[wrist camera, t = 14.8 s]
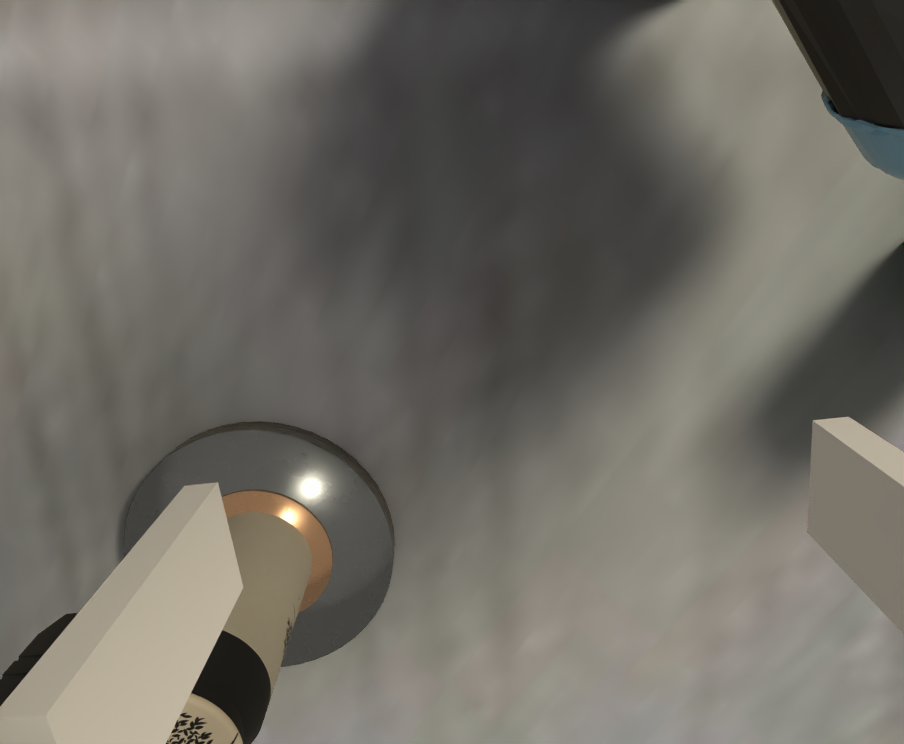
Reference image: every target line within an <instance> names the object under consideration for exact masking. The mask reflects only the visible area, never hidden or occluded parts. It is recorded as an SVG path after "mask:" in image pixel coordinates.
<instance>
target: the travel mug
mask: <svg viewBox="0 0 904 744" xmlns="http://www.w3.org/2000/svg"><path fill="white" fill-rule="evenodd" d="M227 522H228V526H229V530H230V534H231V538H232V542H233V546H234V551H235V555H236V559H237V563H238V567H239V571H240V575H241V579H242V584H243V589H242V591H241V593H240V595H239V597H238V599H237V601H236V603H235V605H234V607H233V609H232V611H231V613H230V615H229V617H228V619H227V621H226V623H225V625H224V627H223V629H222V631H221V633H220V635H219V637H218V639H217V641H216V643H215V645H214V648H213V650H212V652H211V654H210V656H209V658H208V660H207V662H206V664H205V666H204V668H203V670H202V672H201V674H200V676H199V678H198V680H197V682H196V684H195V686H194V688H193V690H192V692H191V694H190V696H189V698H188V700H187V702H186V704H185V706H184V708H183V710H182V712H181V714H180V716H179V718H178V720H177V722H176V724H175V726H174V728H173V730H172V732H171V734H170V736H169V738H168V740H167V742H166V744H251V743H252V742H253V741H254V739H255V738H256V736H257V735H258V733H259V731H260V729H261V726H262V723H263V720H264V717H265V714H266V711H267V708H268V705H269V701H270V698H271V695H272V692H273V689H274V686H275V683H276V680H277V677H278V673H279V670H280V667H281V664H282V661H283V658H284V655H285V652H286V649H287V645H288V642H289V639H290V636H291V633H292V630H293V627H294V624H295V620H296V617H297V614H298V611H299V608H300V605H301V602H302V599H303V596H304V592H305V589H306V586H307V583H308V580H309V577H310V574H311V569H312V556H311V551H310V548H309V545H308V543H307V541H306V540H305V538H304V537H303V535H302V534H301V533H300V532H299V530H298V529H297V528H295V527H294V526H293V525H292V524H290V523H289V522H287V521H286V520H284V519H282V518H280V517H278V516H275V515H272V514H268V513H263V512H246V513H241V514H237V515H234V516H231V517H229V518H227Z"/></svg>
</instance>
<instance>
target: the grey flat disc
mask: <svg viewBox="0 0 904 744" xmlns="http://www.w3.org/2000/svg"><path fill="white" fill-rule="evenodd" d="M216 482H218V485H219V489H220V493H221V497H222V501H223V505H224V509H225V513H226V518H229V517H231V516H234V515H237V514H241V513H246V512H263V513H268V514H272V515H275V516H278V517H280V518H282V519H284V520H286V521H287V522H289V523H290V524H292V525H293V526H294V527H295V528H297V529H298V530H299V532H300V533H301V534H302V535H303V537H304V538H305V540H306V541H307V543H308V545H309V548H310V551H311V556H312V569H311V574H310V577H309V580H308V583H307V586H306V589H305V592H304V596H303V599H302V602H301V605H300V608H299V611H298V614H297V617H296V620H295V624H294V627H293V630H292V633H291V636H290V639H289V642H288V645H287V649H286V652H285V655H284V658H283V661H282V664H281V667H284V666H290V665H297V664H301V663H305V662H308V661H312V660H315V659H318V658H320V657H323V656H325V655H328V654H330V653H332V652H333V651H335V650H337V649H339V648H341V647H342V646H344V645H345V644H346V643H348V642H349V641H351V640H352V639H353V638H355V637H356V636H357V635H358V634H359V633H360V632H361V631H362V630H363V629H364V628H365V627H366V626H367V625H368V623H369V622H370V621H371V620H372V618H373V617H374V616H375V614H376V613H377V611H378V609H379V608H380V606H381V604H382V602H383V600H384V598H385V595H386V593H387V590H388V587H389V583H390V579H391V574H392V567H393V558H394V546H395V542H394V529H393V524H392V519H391V515H390V512H389V509H388V507H387V504H386V501H385V499H384V497H383V495H382V493H381V491H380V490H379V488H378V486H377V484H376V483H375V482H374V480H373V479H372V478H371V476H370V475H369V473H368V472H367V471H366V470H365V469H364V468H363V467H362V466H361V465H360V464H359V463H358V462H357V461H356V460H355V459H354V458H353V457H352V456H350V455H349V454H348V453H347V452H346V451H344V450H343V449H342V448H340V447H338V446H337V445H335V444H334V443H332V442H330V441H329V440H327V439H325V438H323V437H321V436H319V435H316V434H314V433H312V432H309V431H306V430H303V429H300V428H297V427H294V426H289V425H284V424H279V423H270V422H241V423H235V424H229V425H224V426H220V427H217V428H214V429H210V430H207V431H205V432H203V433H201V434H198V435H196V436H194V437H192V438H190V439H189V440H187V441H186V442H184V443H182V444H181V445H179V446H178V447H177V448H176V449H174V450H173V451H172V452H171V453H170V454H169V455H167V456H166V457H165V458H164V459H163V460H162V461H161V462H160V463H159V464H158V465H157V467H156V468H155V469H154V470H153V471H152V472H151V473H150V474H149V475H148V477H147V478H146V479H145V480H144V482H143V483H142V485H141V486H140V488H139V489H138V491H137V493H136V495H135V497H134V499H133V501H132V504H131V506H130V508H129V512H128V516H127V520H126V524H125V534H124V549H125V556H126V555H127V554H128V553H129V552H130V550H131V549H132V548H133V547H134V546H135V544H136V543H137V542H138V541H139V540H140V538H141V537H142V536H143V535H144V534H145V532H146V531H147V530H148V529H149V528H150V526H151V525H152V524H153V523H154V522H155V520H156V519H157V518H158V517H159V516H160V514H161V513H162V512H163V511H164V510H165V509H166V507H167V506H168V505H169V504H170V503H171V501H172V500H173V499H174V498H175V497H176V495H177V494H178V493H179V492H180V491H181V489H182V488H183V487H184V486H187V485H196V484H206V483H216Z"/></svg>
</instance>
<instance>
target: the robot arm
mask: <svg viewBox="0 0 904 744" xmlns="http://www.w3.org/2000/svg"><path fill="white" fill-rule="evenodd" d="M772 1H773V3H774V5H775V7H776V9H777V10H778V12H779V14H780V16H781V17H782V19H783V21H784V23H785V24H786V26H787V28H788V30H789V31H790V33H791V35H792V37H793V39H794V40H795V42H796V44H797V46H798V47H799V49H800V51H801V53H802V54H803V56H804V58H805V60H806V61H807V63H808V65H809V67H810V69H811V70H812V72H813V74H814V76H815V77H816V79H817V81H818V83H819V84H820V86H821V88H822V90H823V91H822V95H821V96H822V100H823V102H824V105H825V107H826V108H827V110H828V112H829V113H830V114H831V115H832V116H833V117H835V118H836V119H837V120H838V121H839V122H840V123H842V124H843V126H844V127H845V129H846V130H847V132H848V133H849V135H850V136H851V138H852V140H853V141H854V143H855V144H856V146H857V147H858V149H859V151H860V152H861V154H862V155H863V156H864V158H865V159H866V160H867V161H868V162H869V163H870V164H871V165H873V166H874V167H876V168H879V169H881V170H882V171H884V172H885V173H886V174H890V175H892V176H893V177H896V178H899V179H903V180H904V0H772ZM807 532H808V534H809V535H810V536H811V537H812V538H813V539H814V540H815V541H816V542H817V543H818V544H819V545H820V546H821V547H822V548H823V549H824V550H825V551H826V553H827V554H828V555H829V556H830V557H831V558H832V559H833V560H834V561H835V562H836V563H837V564H838V565H839V566H840V567H841V568H842V569H843V570H844V572H845V573H846V574H847V575H848V576H849V577H850V578H851V579H852V580H853V581H854V582H855V583H856V584H857V585H858V586H859V587H860V588H861V589H862V591H863V592H864V593H865V594H866V595H867V596H868V597H869V598H870V599H871V600H872V601H873V602H874V603H875V604H876V605H877V606H878V607H879V608H880V610H881V611H882V612H883V613H884V614H885V615H886V616H887V617H888V618H889V619H890V620H891V621H892V622H893V623H894V624H895V625H896V626H897V627H898V629H899V630H900V631H901V632H902V633H903V634H904V452H902V451H901V450H899V449H898V448H896V447H894V446H893V445H891V444H890V443H888V442H887V441H885V440H884V439H882V438H881V437H879V436H878V435H876V434H874V433H873V432H871V431H870V430H868V429H867V428H865V427H864V426H862V425H861V424H859V423H858V422H856V421H854V420H853V419H851V418H850V417H841V418H831V419H821V420H813V422H812V444H811V465H810V486H809V507H808V528H807ZM242 589H243V584H242V579H241V575H240V571H239V567H238V563H237V559H236V555H235V551H234V546H233V542H232V538H231V534H230V530H229V526H228V522H227V518H226V513H225V509H224V505H223V501H222V497H221V493H220V489H219V485H218V482H216V483H206V484H196V485H187V486H184V487H183V488H182V489H181V491H180V492H179V493H178V494H177V495H176V497H175V498H174V499H173V500H172V501H171V503H170V504H169V505H168V506H167V507H166V509H165V510H164V511H163V512H162V513H161V514H160V516H159V517H158V518H157V519H156V520H155V522H154V523H153V524H152V525H151V526H150V528H149V529H148V530H147V531H146V532H145V534H144V535H143V536H142V537H141V538H140V540H139V541H138V542H137V543H136V544H135V546H134V547H133V548H132V549H131V550H130V552H129V553H128V554H127V555H126V556H125V558H124V559H123V560H122V561H121V562H120V564H119V565H118V566H117V567H116V568H115V570H114V571H113V572H112V573H111V574H110V576H109V577H108V578H107V579H106V580H105V582H104V583H103V584H102V585H101V586H100V588H99V589H98V590H97V591H96V592H95V594H94V595H93V596H92V597H91V598H90V600H89V601H88V602H87V603H86V604H85V606H84V607H83V608H82V609H81V610H80V612H79V613H73V614H66V615H64V616H63V617H62V618H60V619H59V620H57V621H56V622H55V623H53V624H52V625H50V626H49V627H48V628H46V629H45V630H44V631H42V632H41V633H39V634H38V635H37V636H36V637H35V639H34V640H33V641H32V642H31V643H30V644H29V645H28V647H27V648H26V649H25V650H24V651H23V652H22V653H21V654H20V656H19V660H18V661H14V662H13V664H12V665H11V666H10V667H9V668H8V669H7V670H6V671H5V673H4V674H3V677H2V679H0V744H166V742H167V740H168V738H169V736H170V734H171V732H172V730H173V728H174V726H175V724H176V722H177V720H178V718H179V716H180V714H181V712H182V710H183V708H184V706H185V704H186V702H187V700H188V698H189V696H190V694H191V692H192V690H193V688H194V686H195V684H196V682H197V680H198V678H199V676H200V674H201V672H202V670H203V668H204V666H205V664H206V662H207V660H208V658H209V656H210V654H211V652H212V650H213V648H214V645H215V643H216V641H217V639H218V637H219V635H220V633H221V631H222V629H223V627H224V625H225V623H226V621H227V619H228V617H229V615H230V613H231V611H232V609H233V607H234V605H235V603H236V601H237V599H238V597H239V595H240V593H241V591H242Z"/></svg>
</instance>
